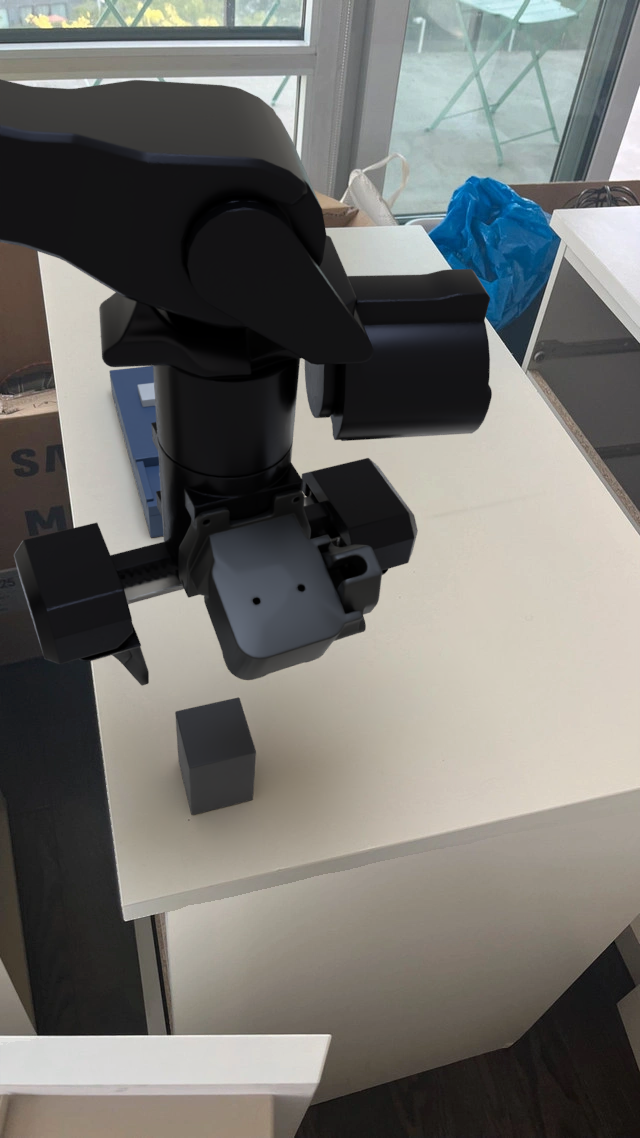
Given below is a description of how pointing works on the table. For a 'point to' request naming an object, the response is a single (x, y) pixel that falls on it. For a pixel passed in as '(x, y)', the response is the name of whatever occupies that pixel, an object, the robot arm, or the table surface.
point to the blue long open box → (140, 435)
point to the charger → (215, 755)
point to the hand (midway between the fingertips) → (223, 653)
